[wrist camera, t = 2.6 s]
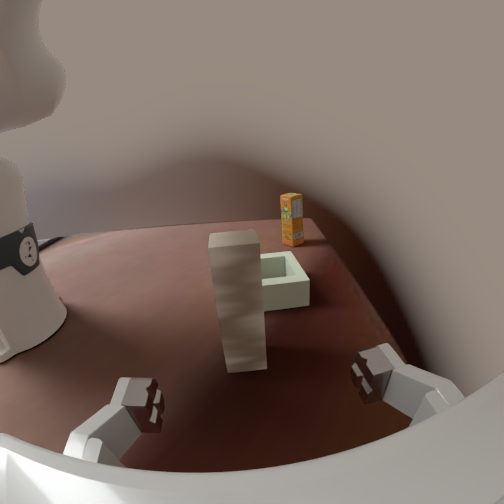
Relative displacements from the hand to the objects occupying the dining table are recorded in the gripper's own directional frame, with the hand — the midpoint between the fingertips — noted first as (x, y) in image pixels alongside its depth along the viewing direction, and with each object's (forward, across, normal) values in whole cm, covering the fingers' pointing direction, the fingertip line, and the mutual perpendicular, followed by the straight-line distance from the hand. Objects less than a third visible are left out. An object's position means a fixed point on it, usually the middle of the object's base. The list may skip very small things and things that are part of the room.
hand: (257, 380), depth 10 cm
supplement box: (+43, -12, +10) cm, 46 cm away
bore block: (+26, -4, +10) cm, 28 cm away
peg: (+12, 0, +10) cm, 16 cm away
